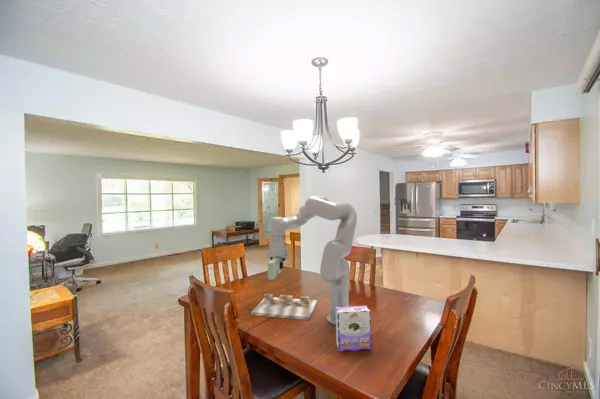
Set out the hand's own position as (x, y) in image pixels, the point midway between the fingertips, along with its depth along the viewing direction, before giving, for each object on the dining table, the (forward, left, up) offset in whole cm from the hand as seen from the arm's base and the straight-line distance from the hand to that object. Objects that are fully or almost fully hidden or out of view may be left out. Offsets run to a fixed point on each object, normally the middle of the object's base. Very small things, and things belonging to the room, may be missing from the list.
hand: (278, 268), depth 163 cm
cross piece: (0, +6, -2) cm, 6 cm away
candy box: (-45, +39, -21) cm, 63 cm away
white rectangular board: (-6, +8, -21) cm, 23 cm away
